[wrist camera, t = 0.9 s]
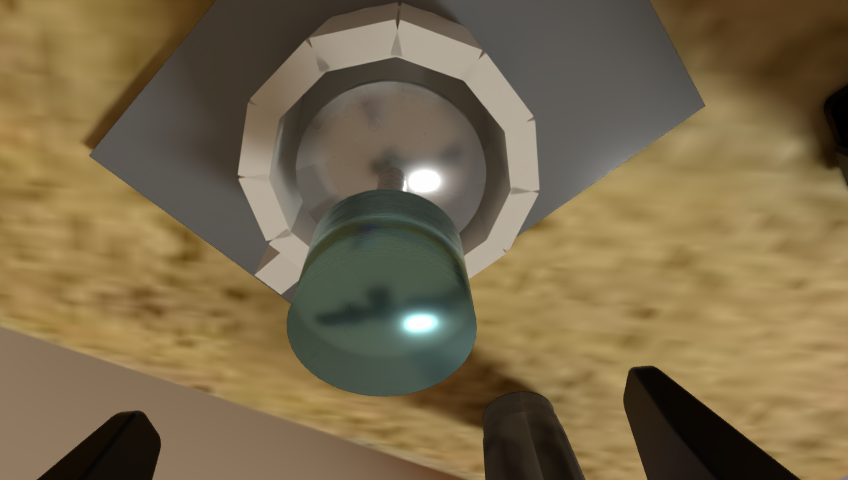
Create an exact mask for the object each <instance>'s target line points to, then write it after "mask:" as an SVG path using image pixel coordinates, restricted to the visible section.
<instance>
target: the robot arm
mask: <svg viewBox="0 0 848 480" xmlns="http://www.w3.org/2000/svg"><path fill="white" fill-rule="evenodd" d="M842 102H843V104H842V105H841V106H840V107H839V108H838V106H839V104H840V103H842ZM824 113H825V115H826V118H827V121H828V123H829V126H830V128H831V131H832V133H833V136H834V139H835V141H836V144H837V145H836V146H835V151H834V152H835V155H836V157H837V160H838V162H839V165H840V167H841V170H842V172H843V175H844V177H845V180H846V183H847V185H848V85H847V86H845V87H844V88H842V89H841V90H839V91H837V92H836V93H834V94H833V95H832V96H830V97H829V98H828V100H827V101H826V102H825V105H824ZM623 402H624V408H625V411H626V415H627V418H628V421H629V424H630V427H631V430H632V433H633V436H634V439H635V442H636V446H637V449H638V452H639V455H640V458H641V461H642V464H643V467H644V470H645V473H646V477H647V480H800V479H799V478H798V477H796V476H795V475H794V474H793V473H791V472H790V471H789V470H787V469H786V468H785V467H784V466H782V465H781V464H780V463H778V462H777V461H776V460H775V459H773V458H772V457H771V456H770V455H768V454H767V453H766V452H764V451H763V450H762V449H761V448H759V447H758V446H757V445H755V444H754V443H753V442H752V441H750V440H749V439H748V438H746V437H745V436H744V435H743V434H741V433H740V432H739V431H738V430H736V429H735V428H734V427H732V426H731V425H730V424H729V423H727V422H726V421H725V420H723V419H722V418H721V417H720V416H718V415H717V414H716V413H714V412H713V411H712V410H711V409H709V408H708V407H707V406H706V405H704V404H703V403H702V402H700V401H699V400H698V399H697V398H695V397H694V396H693V395H691V394H690V393H689V392H688V391H686V390H685V389H684V388H682V387H681V386H680V385H679V384H677V383H676V382H675V381H674V380H672V379H671V378H670V377H668V376H667V375H666V374H665V373H663V372H662V371H661V370H659V369H658V368H656V367H654V366H640V367H633V368H631V369H630V370H629V373H628V377H627V382H626V386H625V391H624V397H623ZM160 448H161V440H160V436H159V434H158V433H157V431H156V430H155V428H154V427H153V425H152V424H151V422H150V421H149V419H148V418H147V416H146V415H145V414H144V413H143V412H142V411H127V412H120V413H117V414H115V415H114V416H113V417H111V418H110V419H109V420H108V421H106V422H105V423H104V424H103V425H102V426H101V427H99V428H98V429H97V430H96V431H94V432H93V433H92V434H91V435H90V436H88V437H87V438H86V439H85V440H84V441H82V442H81V443H80V444H79V445H78V446H77V447H75V448H74V449H73V450H72V451H71V452H69V453H68V454H67V455H66V456H65V457H63V458H62V459H61V460H60V461H59V462H57V463H56V464H55V465H54V466H53V467H52V468H50V469H49V470H48V471H47V472H46V473H44V474H43V475H42V476H41V477H39V478H38V479H37V480H152V478H153V475H154V471H155V467H156V464H157V460H158V456H159V452H160Z"/></svg>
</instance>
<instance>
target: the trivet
mask: <svg viewBox="0 0 848 480" xmlns="http://www.w3.org/2000/svg"><path fill="white" fill-rule="evenodd" d="M396 2H398V5H401V3H405V4H407V5H410V6H413V7H415V8H419V9H422V10H425V11H429V12H432V13H434V14H437V15H439V16H441V17H443V18H445V19H447V20H449V21H452V22H455V23H457V24H460V25H463V26H465V28H466V29H468V30H469V31H470V33H471V34H472V35H473V37H474V38H475V39H476V40H477V42H478V43H479V44H480V46H481V47H482V48H483V50H484V51H485V52H486V54H487V55H488V56H489V58H490V59H491V60H492V62H493V63H494V64H495V66H496V67H497V68H498V70H499V71H500V72H501V74H502V75H503V76H504V78H505V79H506V80H507V82H508V83H509V84H510V86H511V87H512V88H513V90H514V91H515V92H516V94H517V95H518V96H519V98H520V99H521V100H522V102H523V103H524V104H525V105H526V107H527V108H528V109H529V111H530V112H531V113H532V115H533V118H534V120H535V128H536V143H537V159H538V174H539V190H537V192H538V193H539V194H538V196H537V198H536V200H535V202H534V204H533V205H532V207H531V209H530V211H529V213H528V215H527V217H526V219H525V221H524V223H523V224H522V226H521V228H520V230H519V232H518V234H517V236H518V235H520V234H521V233H523V232H524V231H526V230H527V229H529V228H530V227H531V226H533V225H534V224H536V223H537V222H539V221H540V220H542V219H543V218H544V217H546V216H547V215H549V214H550V213H552V212H553V211H555V210H556V209H557V208H559V207H560V206H562V205H563V204H565V203H566V202H567V201H569V200H570V199H572V198H573V197H575V196H576V195H578V194H579V193H580V192H582V191H583V190H585V189H586V188H588V187H589V186H591V185H592V184H593V183H595V182H596V181H598V180H599V179H601V178H602V177H604V176H605V175H606V174H608V173H609V172H611V171H612V170H614V169H615V168H616V167H618V166H619V165H621V164H622V163H624V162H625V161H627V160H628V159H629V158H631V157H632V156H634V155H635V154H637V153H638V152H640V151H641V150H642V149H644V148H645V147H647V146H648V145H650V144H651V143H653V142H654V141H655V140H657V139H658V138H660V137H661V136H663V135H664V134H665V133H667V132H668V131H670V130H671V129H673V128H674V127H676V126H677V125H678V124H680V123H681V122H683V121H684V120H686V119H687V118H689V117H690V116H691V115H693V114H694V113H696V112H697V111H699V110H700V109H702V108H703V107H704V106H705V104H704V102H703V100H702V98H701V97H700V95H699V93H698V91H697V89H696V87H695V85H694V83H693V81H692V80H691V78H690V76H689V74H688V72H687V70H686V68H685V66H684V64H683V63H682V61H681V59H680V57H679V55H678V53H677V51H676V49H675V47H674V46H673V44H672V42H671V40H670V38H669V36H668V34H667V32H666V31H665V29H664V27H663V25H662V23H661V21H660V19H659V17H658V15H657V14H656V12H655V10H654V8H653V6H652V4H651V2H650V0H216V1H215V2H214V4H213V5H212V6H211V7H210V9H209V10H208V11H207V12H206V13H205V15H204V16H203V17H202V18H201V19H200V21H199V22H198V23H197V24H196V26H195V27H194V28H193V29H192V30H191V32H190V33H189V34H188V35H187V37H186V38H185V39H184V40H183V41H182V43H181V44H180V45H179V46H178V48H177V49H176V50H175V51H174V52H173V54H172V55H171V56H170V57H169V59H168V60H167V61H166V62H165V63H164V65H163V66H162V67H161V68H160V70H159V71H158V72H157V73H156V74H155V76H154V77H153V78H152V79H151V80H150V82H149V83H148V84H147V85H146V87H145V88H144V89H143V90H142V91H141V93H140V94H139V95H138V96H137V98H136V99H135V100H134V101H133V102H132V104H131V105H130V106H129V107H128V109H127V110H126V111H125V112H124V113H123V115H122V116H121V117H120V118H119V120H118V121H117V122H116V123H115V124H114V126H113V127H112V128H111V129H110V131H109V132H108V133H107V134H106V135H105V137H104V138H103V139H102V140H101V141H100V143H99V144H98V145H97V146H96V148H95V149H94V150H93V151H92V152H91V154H90V155H89V156H90V157H91V158H93V159H94V160H95V161H97V162H98V163H100V164H101V165H102V166H104V167H105V168H106V169H108V170H109V171H110V172H112V173H113V174H115V175H116V176H117V177H119V178H120V179H121V180H123V181H124V182H126V183H127V184H128V185H130V186H131V187H132V188H134V189H135V190H136V191H138V192H139V193H141V194H142V195H143V196H145V197H146V198H147V199H149V200H150V201H152V202H153V203H154V204H156V205H157V206H158V207H160V208H161V209H162V210H164V211H165V212H167V213H168V214H169V215H171V216H172V217H173V218H175V219H176V220H178V221H179V222H180V223H182V224H183V225H184V226H186V227H187V228H188V229H190V230H191V231H193V232H194V233H195V234H197V235H198V236H199V237H201V238H202V239H204V240H205V241H206V242H208V243H209V244H210V245H212V246H213V247H214V248H216V249H217V250H219V251H220V252H221V253H223V254H224V255H225V256H227V257H228V258H230V259H231V260H232V261H234V262H235V263H236V264H238V265H239V266H240V267H242V268H243V269H245V270H246V271H247V272H249V273H250V274H251V275H253V276H254V277H256V276H255V273H256V270H257V268H258V266H259V264H260V262H261V260H262V257H263V255H264V253H265V251H266V249H267V247H268V245H269V242H270V240H268V241H266V239H265V237H264V235H263V233H262V230H261V228H260V226H259V224H258V222H257V219H256V217H255V215H254V213H253V210H252V208H251V206H250V204H249V202H248V199H247V197H246V195H245V193H244V191H243V188H242V186H241V184H240V182H239V177H240V175H238V169H239V162H240V155H241V148H242V141H243V134H244V127H245V120H246V113H247V106H248V102H250V101H251V100H250V98H251V97H252V96H253V95H254V94H255V93H256V92H257V91H258V90H259V89H260V88H261V87H262V86H263V85H264V83H265V82H266V81H267V80H268V79H269V78H270V77H271V76H272V75H273V74H274V73H275V72H276V71H277V70H278V69H279V68H280V67H281V65H282V64H283V63H284V62H285V61H286V60H287V59H288V58H289V57H290V56H291V55H292V54H293V53H294V52H295V51H296V50H297V48H298V47H299V46H300V45H301V44H302V43H303V42H304V41H305V40H306V39H307V38H308V37H309V36H310V35H312V34H313V33H314V32H315V31H316V30H317V29H318V28H319V27H320V26H321V25H323V24H324V23H325V22H326V21H327V20H328V19H330V18H331V17H333V16H337V15H342V14H346V13H350V12H354V11H357V10H360V9H364V8H368V7H375V6H381V5H387V4H391V3H396ZM517 236H516V237H517ZM256 278H257V277H256ZM257 279H258V280H260V279H259V278H257ZM260 281H261V282H262V283H264V282H263V281H262V280H260ZM298 281H299V280H298ZM298 281H297V282H296V283H295V284H294V285H292V286H291V287H290V288H289V289H287V290H286V291H285V292H284V293H282V294H279V293H278V292H277V291H275V290H274V289H272V288H271V287H270V286H268V285H267V284H266V283H264V284H265V285H267V286H268V287H269V288H271V289H272V290H273V291H275V292H276V293H277V294H279V295H280V296H282V297H283V298H284V299H286V300H287V301H288V302H290V303H292V300H293V296H294V293H295V290H296V287H297V284H298Z"/></svg>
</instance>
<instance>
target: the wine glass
mask: <svg viewBox="0 0 848 480" xmlns="http://www.w3.org/2000/svg"><path fill="white" fill-rule="evenodd" d="M296 178H297V184H298V189H299V192H300V195H301V198H302V201H303V203H304V205H305V207H306V209H307V211H308V212H309V214H310V215H311V217H312V218H313V220H314V221H315V222H316V223H317V227H316V229H315V232H314V235H313V238H312V241H311V244H310V247H309V250H308V253H307V256H306V259H305V262H304V265H303V269H302V272H301V275H300V278H299V281H298V284H297V287H296V290H295V293H294V296H293V300H292V303H291V306H290V309H289V312H288V318H287V333H288V338H289V342H290V344H291V347H292V349H293V351H294V353H295V354H296V356H297V358H298V359H299V360H300V361H301V363H302V364H303V365H304V366H305V367H306V368H307V369H308V370H309V371H310V372H311V373H313V374H314V375H315V376H317V377H318V378H320V379H321V380H323V381H325V382H326V383H328V384H330V385H332V386H335V387H337V388H339V389H342V390H345V391H348V392H352V393H356V394H362V395H368V396H398V395H405V394H410V393H414V392H418V391H421V390H424V389H427V388H429V387H432V386H434V385H436V384H438V383H440V382H441V381H443V380H445V379H446V378H448V377H449V376H450V375H452V374H453V373H454V372H455V371H456V370H457V369H459V367H460V366H461V365H462V364H463V363H464V362H465V360H466V359H467V357H468V356H469V354H470V352H471V350H472V348H473V345H474V342H475V338H476V329H477V326H476V317H475V311H474V306H473V301H472V295H471V290H470V285H469V280H468V274H467V269H466V264H465V258H464V253H463V248H462V243H461V239H460V235H459V233H460V232H461V231H462V230H463V229H464V228H465V227H466V226H467V224H468V223H469V222H470V220H471V219H472V218H473V216H474V214H475V213H476V211H477V209H478V207H479V205H480V202H481V199H482V197H483V193H484V189H485V182H486V162H485V157H484V152H483V149H482V146H481V143H480V141H479V138H478V135H477V133H476V131H475V129H474V127H473V125H472V123H471V122H470V120H469V119H468V118H467V116H466V115H465V113H464V112H463V111H462V110H461V109H460V108H459V107H458V106H457V105H456V104H455V103H454V102H453V101H451V100H450V99H449V98H448V97H446V96H445V95H443V94H442V93H440V92H438V91H437V90H435V89H433V88H430V87H428V86H426V85H423V84H420V83H417V82H413V81H409V80H402V79H377V80H370V81H366V82H363V83H359V84H356V85H354V86H351V87H349V88H347V89H345V90H343V91H341V92H340V93H338V94H337V95H335V96H333V97H332V98H331V99H330V100H329V101H328V102H326V103H325V104H324V105H323V106H322V107H321V108H320V110H319V111H318V112H317V113H316V114H315V116H314V117H313V119H312V120H311V122H310V124H309V125H308V127H307V129H306V131H305V133H304V135H303V138H302V140H301V142H300V146H299V149H298V153H297V160H296Z"/></svg>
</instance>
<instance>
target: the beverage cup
mask: <svg viewBox="0 0 848 480" xmlns="http://www.w3.org/2000/svg"><path fill="white" fill-rule="evenodd" d="M483 424H484V428H483V431H484V438H483V450H484V465H485V480H585V478H584V475H583V473H582V471H581V468H580V466H579V464H578V461H577V459H576V457H575V454H574V452H573V450H572V447H571V445H570V443H569V441H568V438H567V436H566V434H565V431H564V429H563V427H562V425H561V424H560V422H559V420H558V418H557V416H556V414H555V413H554V410H553V406H552V405H551V403H550V402H549V401H548V399H546V398H544V397H543V396H541V395H539V394H535V393H531V392H516V393H511V394H507V395H504V396H502V397H499V398H497V399H496V400H494V401H493V402H492V403H490V404H489V405H488V407H487V408H486V409H485V411H484V414H483Z"/></svg>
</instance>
